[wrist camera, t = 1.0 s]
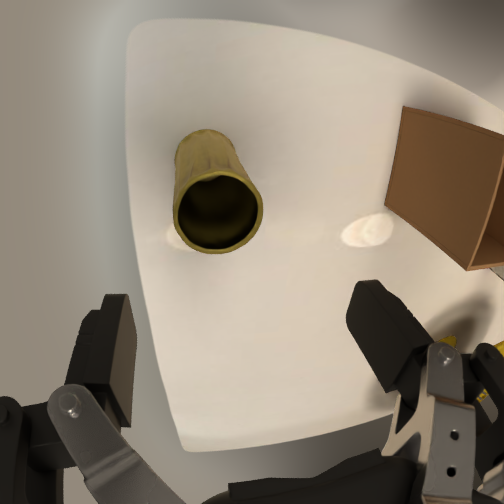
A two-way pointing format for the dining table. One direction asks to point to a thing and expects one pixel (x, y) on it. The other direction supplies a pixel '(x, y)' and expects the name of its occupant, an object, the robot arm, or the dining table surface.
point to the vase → (213, 195)
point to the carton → (451, 186)
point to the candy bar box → (499, 271)
